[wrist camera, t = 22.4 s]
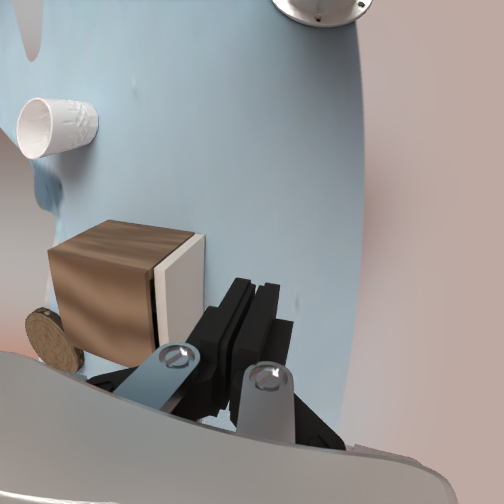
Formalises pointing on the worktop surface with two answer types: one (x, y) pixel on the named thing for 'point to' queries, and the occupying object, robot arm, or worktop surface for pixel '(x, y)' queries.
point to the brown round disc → (52, 341)
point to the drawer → (179, 291)
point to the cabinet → (111, 288)
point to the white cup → (55, 126)
